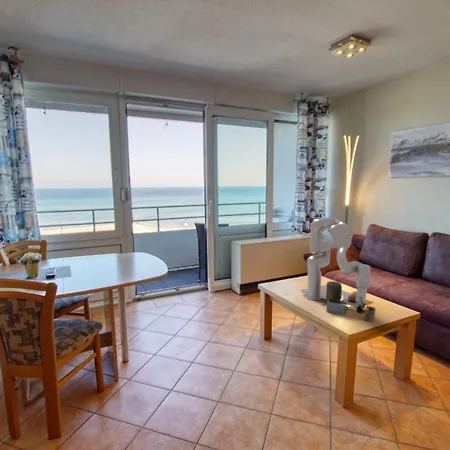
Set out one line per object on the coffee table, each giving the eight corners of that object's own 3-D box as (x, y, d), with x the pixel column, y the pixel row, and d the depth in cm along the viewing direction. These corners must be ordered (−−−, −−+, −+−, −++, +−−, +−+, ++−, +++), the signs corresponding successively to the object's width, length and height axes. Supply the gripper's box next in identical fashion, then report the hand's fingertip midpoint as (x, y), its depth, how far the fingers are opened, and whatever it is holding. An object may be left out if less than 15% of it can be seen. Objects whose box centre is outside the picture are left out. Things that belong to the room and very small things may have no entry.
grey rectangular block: (326, 311, 198) (327, 301, 197) (328, 308, 203) (329, 298, 202) (344, 315, 193) (344, 305, 191) (345, 312, 198) (346, 302, 197)
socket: (364, 320, 186) (365, 309, 185) (365, 316, 192) (366, 306, 191) (373, 322, 184) (374, 311, 182) (374, 318, 189) (375, 307, 188)
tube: (340, 309, 194) (341, 304, 194) (341, 307, 198) (342, 302, 197) (367, 315, 186) (368, 309, 186) (368, 313, 189) (368, 307, 189)
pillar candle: (341, 305, 209) (342, 284, 206) (326, 303, 211) (327, 283, 208) (338, 299, 218) (340, 280, 216) (324, 298, 220) (326, 278, 218)
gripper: (358, 279, 196) (356, 304, 199) (353, 287, 182) (351, 314, 184) (370, 281, 193) (368, 306, 195) (367, 289, 178) (365, 317, 181)
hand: (360, 310), depth 190 cm, fingers open, 9 cm apart
